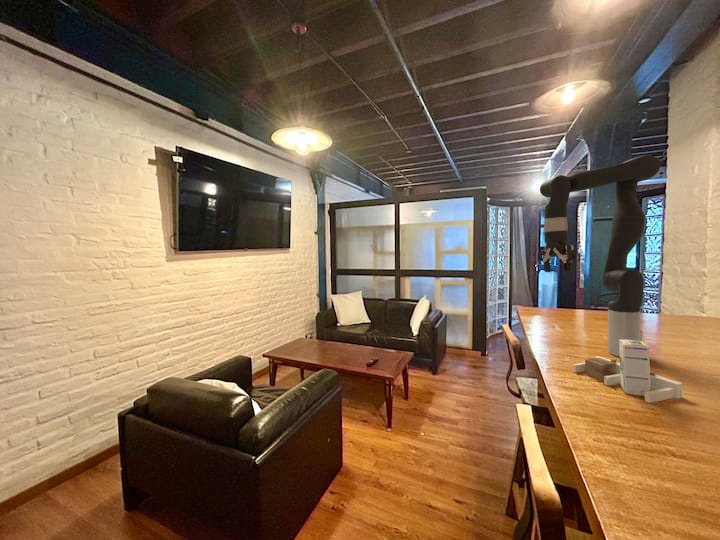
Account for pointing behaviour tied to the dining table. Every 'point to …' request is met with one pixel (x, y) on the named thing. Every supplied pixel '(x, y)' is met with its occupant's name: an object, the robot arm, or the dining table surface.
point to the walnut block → (599, 368)
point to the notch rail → (657, 383)
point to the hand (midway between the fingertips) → (556, 272)
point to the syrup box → (634, 367)
